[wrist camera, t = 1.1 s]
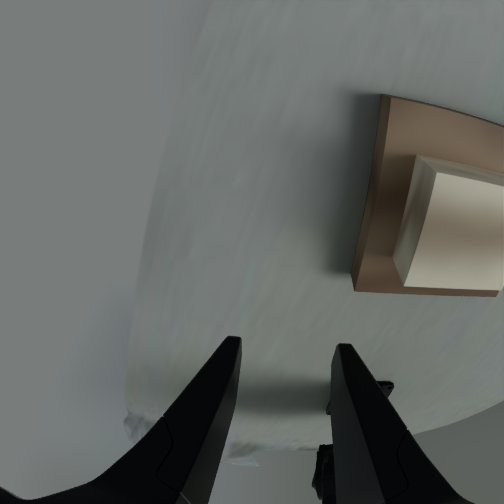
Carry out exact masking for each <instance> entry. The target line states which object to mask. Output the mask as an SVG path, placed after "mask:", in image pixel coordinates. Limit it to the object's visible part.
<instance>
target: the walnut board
mask: <svg viewBox="0 0 504 504" xmlns="http://www.w3.org/2000/svg"><path fill="white" fill-rule="evenodd" d="M416 155H421V156H426V157H432V158H437V159H442V160H447V161H451V162H456V163H460V164H465V165H469V166H473V167H478V168H482V169H486V170H490V171H493V172H497V173H501V174H504V126H502V125H500V124H497V123H494V122H491V121H488V120H485V119H482V118H479V117H475V116H472V115H469V114H466V113H462V112H459V111H455V110H451V109H448V108H444V107H440V106H436V105H432V104H428V103H424V102H420V101H415V100H411V99H406V98H401V97H396V96H391V95H385V94H381V102H380V111H379V120H378V128H377V135H376V143H375V150H374V156H373V163H372V169H371V176H370V182H369V187H368V193H367V199H366V204H365V209H364V215H363V220H362V225H361V230H360V234H359V239H358V244H357V248H356V253H355V257H354V262H353V266H352V270H351V278H352V282H353V287H354V291H357V292H375V293H396V294H418V295H445V296H480V297H496V296H497V294H498V292H499V290H476V289H451V288H429V287H408V286H404V285H403V283H402V280H401V278H400V275H399V273H398V271H397V268H396V266H395V263H394V261H393V259H392V256H393V252H394V249H395V245H396V241H397V238H398V234H399V230H400V226H401V222H402V218H403V214H404V210H405V206H406V202H407V198H408V193H409V189H410V184H411V179H412V174H413V169H414V164H415V159H416Z"/></svg>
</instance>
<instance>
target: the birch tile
mask: <svg viewBox="0 0 504 504" xmlns="http://www.w3.org/2000/svg"><path fill="white" fill-rule="evenodd" d="M392 259H393V261H394V263H395V266H396V268H397V271H398V273H399V275H400V278H401V280H402V283H403V285H404V286H408V287H429V288H451V289H476V290H502V288H503V286H504V174H501V173H497V172H493V171H490V170H486V169H482V168H478V167H473V166H469V165H465V164H460V163H456V162H451V161H447V160H442V159H437V158H432V157H426V156H421V155H416V159H415V164H414V169H413V174H412V179H411V184H410V189H409V193H408V198H407V202H406V206H405V210H404V214H403V218H402V222H401V226H400V230H399V234H398V238H397V241H396V245H395V249H394V252H393V256H392Z"/></svg>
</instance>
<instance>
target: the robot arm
mask: <svg viewBox="0 0 504 504" xmlns="http://www.w3.org/2000/svg"><path fill="white" fill-rule="evenodd" d="M241 358H242V339H241V337H237V336H227V337H226V338H225V339H224V341H223V342H222V343H221V344H220V346H219V347H218V348H217V349H216V351H215V352H214V353H213V354H212V356H211V357H210V358H209V359H208V361H207V362H206V363H205V364H204V366H203V367H202V368H201V369H200V371H199V372H198V373H197V374H196V375H195V377H194V378H193V379H192V380H191V382H190V383H189V384H188V385H187V386H186V388H185V389H184V390H183V391H182V393H181V394H180V395H179V396H178V397H177V399H176V400H175V401H174V402H173V403H172V405H171V406H170V407H169V408H168V409H167V411H166V412H165V413H164V414H163V416H164V417H163V416H162V417H161V418H160V419H159V420H158V421H157V422H156V424H155V425H154V426H153V427H152V428H151V429H150V430H149V431H148V433H147V434H146V435H145V436H144V437H143V438H142V439H141V440H140V441H139V442H138V443H137V444H136V445H135V446H134V447H133V448H131V449H130V450H129V451H128V452H127V453H126V454H125V455H123V456H122V457H121V458H120V459H119V460H118V461H117V462H116V463H114V464H113V465H112V466H111V467H110V468H108V469H107V470H106V471H105V472H104V473H103V474H101V475H100V476H98V477H97V478H96V479H94V480H92V481H90V482H88V483H86V484H83V485H80V486H78V487H74V488H71V489H69V490H65V491H62V492H59V493H56V494H52V495H49V496H46V497H42V498H38V499H33V500H25V499H22V498H20V497H18V496H16V495H15V494H13V493H11V492H9V491H8V490H6V489H4V488H2V487H0V504H208V502H209V498H210V495H211V492H212V488H213V485H214V481H215V477H216V474H217V470H218V467H219V463H220V460H221V456H222V453H223V449H224V445H225V442H226V438H227V435H228V431H229V427H230V424H231V420H232V416H233V413H234V409H235V404H236V398H237V391H238V383H239V375H240V367H241ZM393 388H394V383H392V382H383V383H377V381H376V380H375V378H374V377H373V375H372V374H371V372H370V371H369V369H368V368H367V366H366V365H365V363H364V362H363V360H362V359H361V358H360V356H359V355H358V353H357V352H356V350H355V349H354V347H353V346H352V345H351V344H346V343H339V344H338V345H337V346H336V350H335V353H334V356H333V359H332V364H331V399H330V402H329V404H328V407H327V409H326V414H327V415H331V426H332V439H333V444H329V445H325V444H323V445H320V446H319V451H317V461H316V470H315V473H314V477H313V480H312V487H313V488H314V489H315V490H316V492H317V496H318V498H319V500H322V504H474V503H472V502H470V501H468V500H466V499H464V498H463V497H462V496H460V495H459V494H458V493H457V492H456V491H455V490H454V489H453V488H452V487H451V485H450V484H449V483H448V482H447V481H446V480H445V478H444V477H443V476H442V475H441V474H440V472H439V471H438V470H437V469H436V467H435V466H434V465H433V464H432V462H431V461H430V460H429V459H428V458H427V456H426V455H425V454H424V452H423V451H422V449H421V448H420V446H419V445H418V444H417V442H416V441H415V439H414V438H413V436H412V435H411V433H410V431H409V430H407V427H406V425H405V424H404V422H403V421H402V419H401V418H400V416H399V415H398V413H397V412H396V410H395V408H394V407H393V405H392V404H391V402H390V401H389V399H388V396H389V395H390V393H391V392H392V390H393Z"/></svg>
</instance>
